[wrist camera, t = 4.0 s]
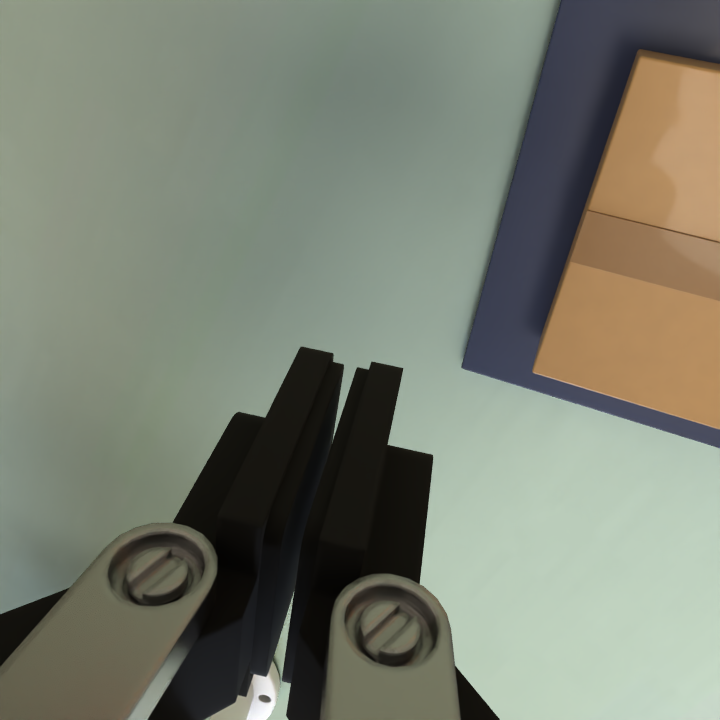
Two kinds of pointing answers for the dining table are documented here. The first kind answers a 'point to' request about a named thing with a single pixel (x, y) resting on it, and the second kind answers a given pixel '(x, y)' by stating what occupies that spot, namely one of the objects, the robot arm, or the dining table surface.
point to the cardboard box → (648, 251)
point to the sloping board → (574, 183)
